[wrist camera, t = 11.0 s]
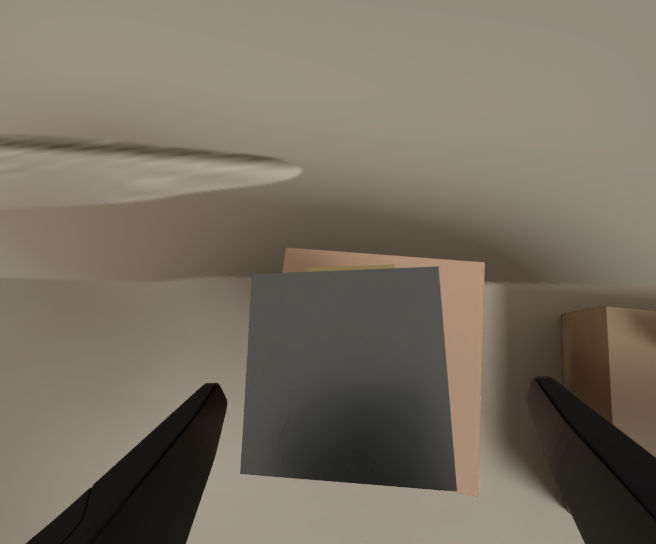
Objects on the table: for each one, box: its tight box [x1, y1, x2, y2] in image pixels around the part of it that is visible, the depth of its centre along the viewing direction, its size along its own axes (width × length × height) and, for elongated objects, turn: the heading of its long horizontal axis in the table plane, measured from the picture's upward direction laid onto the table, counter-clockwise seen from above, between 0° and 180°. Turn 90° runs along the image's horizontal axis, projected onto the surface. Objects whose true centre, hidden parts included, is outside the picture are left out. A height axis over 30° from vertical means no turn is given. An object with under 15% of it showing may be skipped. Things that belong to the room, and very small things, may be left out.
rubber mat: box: [282, 248, 485, 497], centre depth 15 cm, size 10×10×1 cm
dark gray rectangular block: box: [240, 264, 457, 491], centre depth 11 cm, size 5×4×9 cm
